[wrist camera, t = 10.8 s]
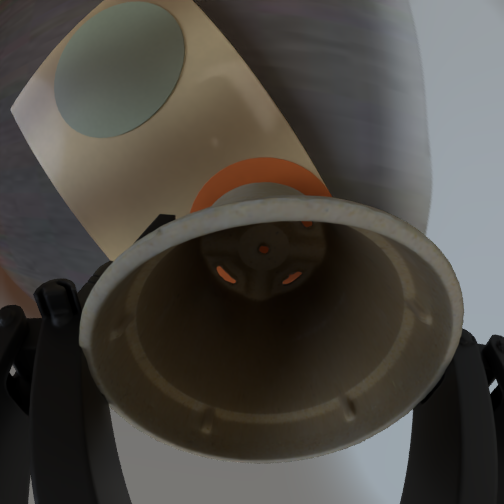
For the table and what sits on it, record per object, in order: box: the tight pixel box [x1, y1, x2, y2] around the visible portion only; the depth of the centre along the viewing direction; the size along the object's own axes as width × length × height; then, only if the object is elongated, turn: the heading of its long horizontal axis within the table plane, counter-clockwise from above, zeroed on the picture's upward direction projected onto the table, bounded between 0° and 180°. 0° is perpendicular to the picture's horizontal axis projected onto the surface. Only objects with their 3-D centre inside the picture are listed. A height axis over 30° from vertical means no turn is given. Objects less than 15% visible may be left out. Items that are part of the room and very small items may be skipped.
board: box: [10, 0, 327, 261], centre depth 13 cm, size 21×13×2 cm, turn 33°
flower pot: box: [79, 182, 464, 464], centre depth 9 cm, size 9×9×9 cm
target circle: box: [190, 157, 332, 284], centre depth 14 cm, size 8×8×1 cm
